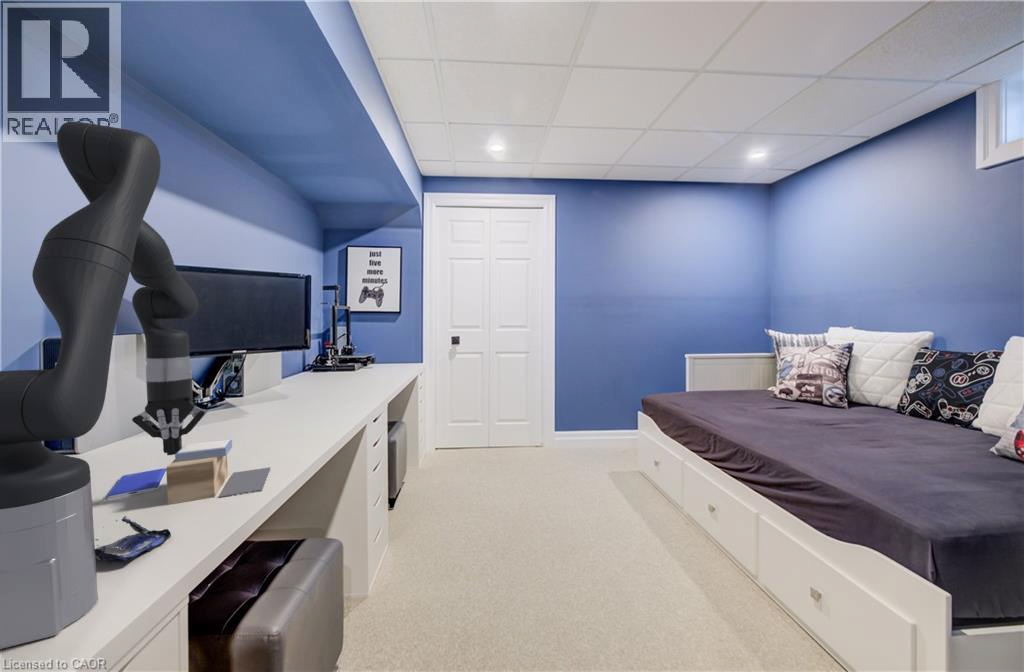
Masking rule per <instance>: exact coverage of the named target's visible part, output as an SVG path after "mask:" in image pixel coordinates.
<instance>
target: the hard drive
mask: <svg viewBox="0 0 1024 672" xmlns="http://www.w3.org/2000/svg"><path fill="white" fill-rule="evenodd" d="M165 475H167V474H166V467H165V468H158V469H157V468H156V469H153V470H146V471H141V472H135V473H130V474H124V475H122V476H121V477H120V478H119V479H118V481H117V482H116V484H115V485H114V487H113V488H112V489H111V490H110V492H109V493H108V494H107V496H106V500H113V499H118V498H124V497H128V496H135V495H137V494H138V495H139V494H143V493H149V492H155V491H158V490H159V488H160V487H161V484H162V482H163V480H164V477H165Z"/></svg>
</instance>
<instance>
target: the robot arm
mask: <svg viewBox="0 0 1024 672" xmlns="http://www.w3.org/2000/svg"><path fill="white" fill-rule="evenodd" d="M56 141H57V142H56V144H57V149H58V152H59V156H60V158H61V159H62V162H63V164H64V166H65V167H66V169H67V171H68V173H69V174H70V176H71V177H72V179H73V181H74V182H75V183H76V185H77V187H78V188H79V189H80V191H81V192H82V194H83V195H84V196H85V198H86V200H87V201H88V202H89V204H87V205H86V206H83V207H82V208H80V209H78V210H77V211H75V212H73V213H72V214H70V215H68V216H67V217H65V218H64V219H62V220H61V221H59V222H58V223H57V224H56V225H54V226H53V227H52V228H50V230H49V231H48V232H47V233H46V235H45V236H44V238H43V240H42V242H41V245H40V248H39V251H38V254H37V257H36V259H35V262H34V265H33V269H32V281H33V284H34V287H35V290H36V292H37V293H38V295H39V296H40V298H41V300H42V301H43V304H45V306H46V308H47V309H48V311H49V312H50V314H51V315H52V317H53V318H54V320H55V321H56V323H57V326H58V327H59V331H60V336H61V338H60V347H59V348H60V349H59V354H58V358H57V361H56V364H55V366H54V367H53V368H51V369H48V368H47V369H46V368H45V369H24V370H23V369H20V370H17V369H15V370H1V371H0V650H2V649H6V648H10V647H14V646H18V645H21V644H26V643H30V642H34V641H37V640H38V641H39V640H41V639H46V638H50V637H53V636H54V637H55V636H57V635H58V634H59V633H60V632H61V631H62V630H63V629H64V628H66V627H68V626H69V625H71V624H73V623H74V622H76V621H77V620H79V619H80V618H81V617H84V616H85V615H86V614H87V613H89V612H90V611H91V609H93V607H95V605H96V604H97V602H98V599H99V597H98V578H97V577H98V575H97V565H96V564H97V563H96V560H97V559H95V548H96V545H95V530H94V515H93V513H94V512H93V499H92V498H93V495H92V481H91V480H92V479H91V468H90V464H89V463H88V461H86V460H85V459H83V458H79V457H74V456H69V455H65V454H61V453H59V452H57V451H54V450H51V449H50V448H48V447H47V446H45V445H44V444H43V442H46V441H48V442H49V441H50V442H51V441H60V440H62V441H63V440H70V439H77V438H80V437H82V436H85V435H86V434H88V433H89V432H90V431H91V430H92V429H93V428H94V427H95V426H96V423H97V422H98V420H99V419H100V416H101V414H102V412H103V409H104V405H105V400H106V393H107V387H108V381H109V372H110V365H111V364H110V362H111V357H112V356H111V355H112V354H111V353H112V348H113V347H112V346H113V341H114V334H115V329H116V326H117V325H116V324H117V321H118V316H119V313H120V308H121V305H122V302H123V297H124V294H125V291H126V289H127V286H128V281H129V278H130V275H131V277H132V279H133V281H135V282H136V283H137V284H139V285H140V286H142V287H139V288H138V289H136V291H134V293H133V295H132V297H131V298H132V299H131V303H132V308H133V310H134V312H135V315H136V317H137V319H138V321H139V323H140V325H141V326H140V327H141V329H142V332H143V335H144V339H145V345H146V347H145V348H146V365H145V375H146V376H145V378H146V379H145V381H146V382H145V383H146V397H147V403H146V406H145V407H144V411H142V412H141V413H139V414H138V415H136V416H134V417H132V419H131V420H132V423H134V424H135V425H137V426H138V427H139V428H140V429H142V430H143V431H144V432H145V433H147V434H148V435H149V436H150V438H151V437H152V438H155V439H156V438H159V439H162V447H163V448H162V450H163V453H164V454H166V455H167V456H175V454H176V453H177V452H178V451H179V450H180V449H181V448H183V443H182V441H183V440H182V438H183V436H185V435H188V434H189V433H190V432H191V431H192V430H193V429H194V428H195V427H196V426H197V424H198V423H199V422H200V421H201V420H202V418H204V416H205V415H206V414H207V413H208V410H207V409H206V408H200V407H199V406H197V403H196V402H195V400H194V398H193V397H194V395H193V376H192V375H193V370H192V362H191V358H190V357H191V356H190V340H189V339H190V337H189V334H188V333H187V332H186V331H184V330H182V329H181V330H180V329H173V328H169V327H166V326H165V325H164V324H163V323H162V321H161V320H187V319H190V318H192V317H194V316H195V315H196V313H197V311H198V309H199V301H198V298H197V296H196V294H195V292H194V291H193V289H192V288H191V287H190V285H189V284H188V283H187V282H186V280H185V279H184V278H183V276H182V275H181V274H180V273H179V272H178V270H177V269H176V265H175V262H174V259H173V256H172V254H171V251H170V248H169V246H168V244H167V243H166V241H165V239H164V238H163V237H162V235H160V234H159V232H158V231H157V230H155V229H154V227H152V226H151V225H150V224H149V223H148V222H146V221H145V220H144V217H145V215H146V212H147V209H148V208H149V204H150V203H151V200H152V198H153V195H154V193H155V191H156V188H157V185H158V182H159V179H160V174H161V169H162V168H161V166H162V165H161V164H162V163H161V155H160V151H159V149H158V147H157V144H155V142H154V140H153V139H151V137H149V136H148V135H146V134H143V133H141V132H138V131H135V130H130V129H126V128H120V127H114V126H107V125H101V124H96V123H91V122H90V123H89V122H82V121H73V120H72V121H67V122H64V123H62V124H61V125H60V127H59V129H58V131H57V136H56ZM191 413H192V414H191ZM190 414H191V416H192V417H193V418H192V419H191V420H190V422H188V423H187V425H186V426H185V427H183V425H184V421H185V419H187V417H188V416H189V415H190ZM151 418H152V419H153V420H154V421H156V423H158V425H156V424H155V423H154V422H153V421H151Z"/></svg>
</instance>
